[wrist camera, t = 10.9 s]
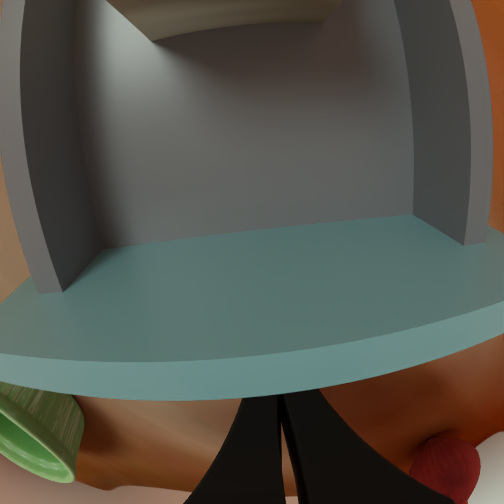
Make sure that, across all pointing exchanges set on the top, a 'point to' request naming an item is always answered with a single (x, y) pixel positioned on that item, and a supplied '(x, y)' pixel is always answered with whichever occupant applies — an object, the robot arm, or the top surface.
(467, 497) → the onion
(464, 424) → the top surface
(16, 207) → the tray
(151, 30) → the block
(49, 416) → the ramekin
